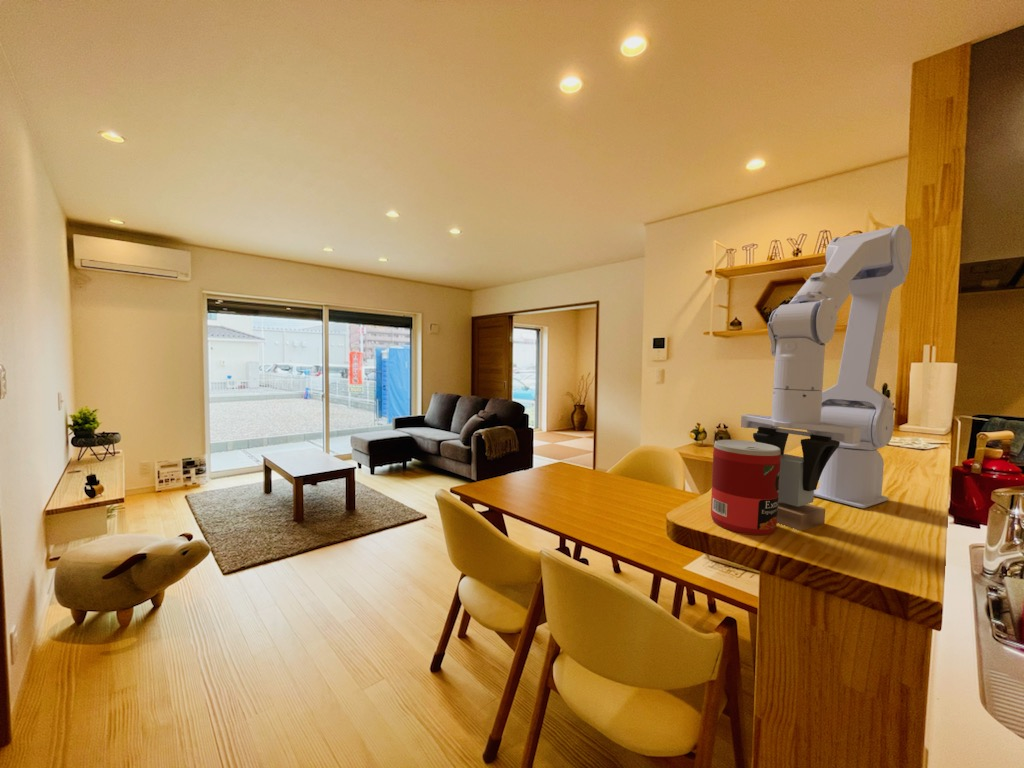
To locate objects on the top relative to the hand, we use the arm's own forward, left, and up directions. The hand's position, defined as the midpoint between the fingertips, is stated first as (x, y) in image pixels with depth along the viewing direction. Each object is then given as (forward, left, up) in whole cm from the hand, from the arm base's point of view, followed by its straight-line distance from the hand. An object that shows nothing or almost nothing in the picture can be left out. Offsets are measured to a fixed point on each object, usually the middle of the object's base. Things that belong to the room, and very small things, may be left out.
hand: (791, 485), depth 60 cm
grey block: (0, 0, -2) cm, 2 cm away
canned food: (+8, -2, -5) cm, 10 cm away
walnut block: (0, 0, -5) cm, 5 cm away
